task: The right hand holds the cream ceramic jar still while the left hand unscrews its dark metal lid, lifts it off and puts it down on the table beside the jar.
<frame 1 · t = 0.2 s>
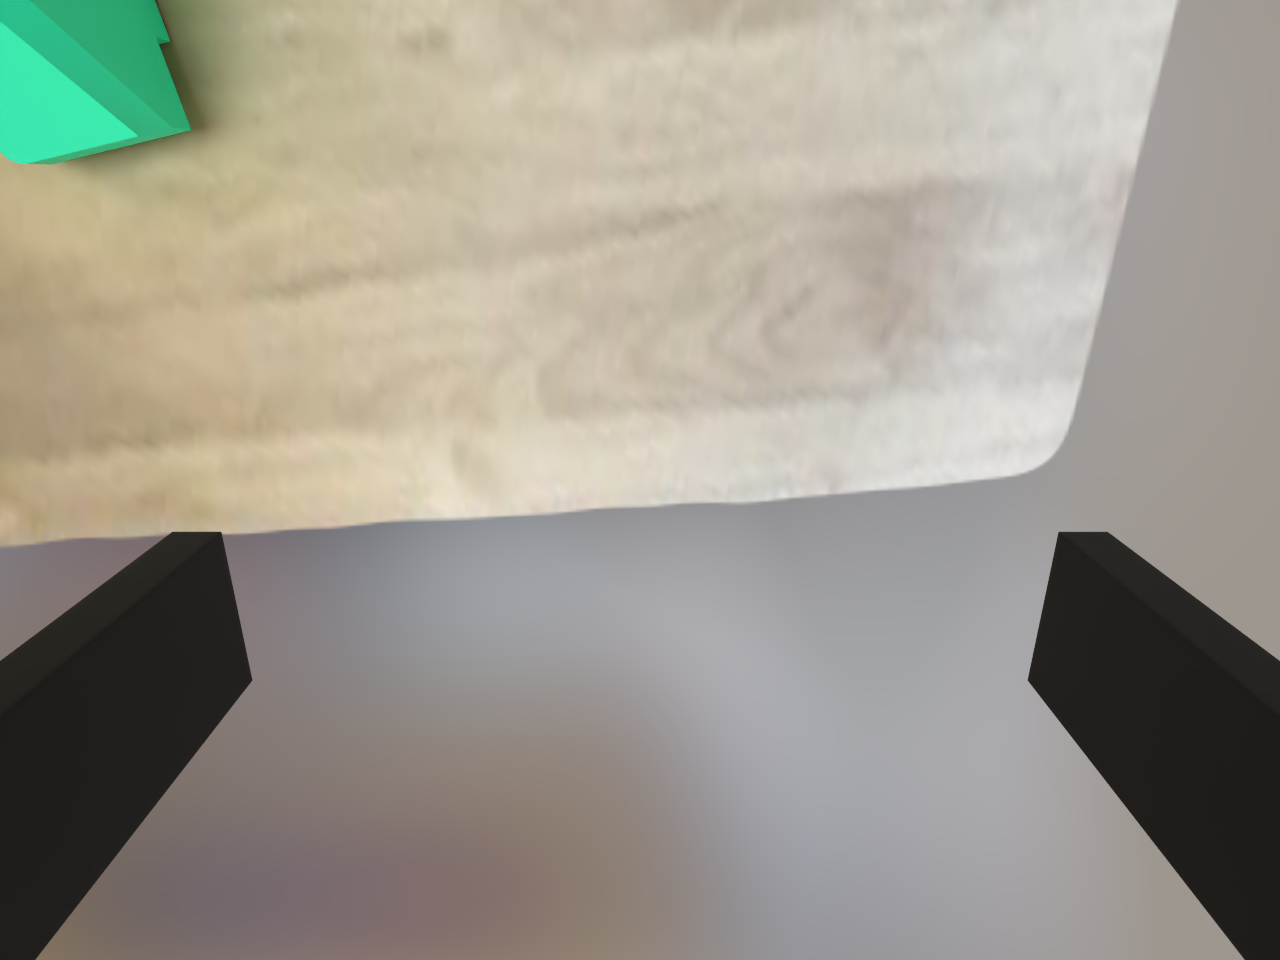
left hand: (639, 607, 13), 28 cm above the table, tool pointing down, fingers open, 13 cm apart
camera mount: (68, 3, 34), on the table
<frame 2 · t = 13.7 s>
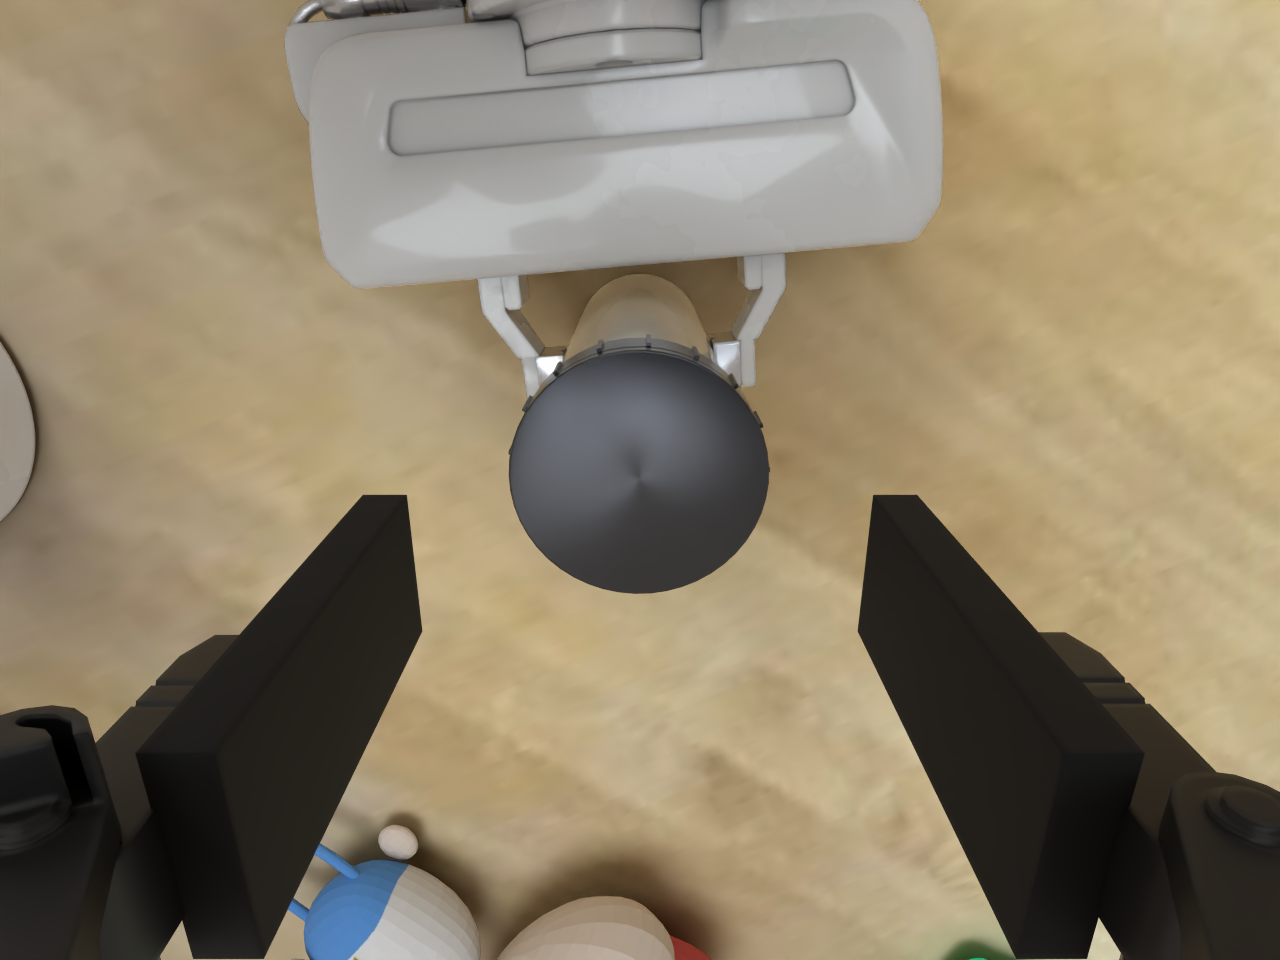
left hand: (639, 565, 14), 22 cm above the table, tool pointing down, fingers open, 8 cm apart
right hand: (642, 392, 29), fingers closed on jar, 5 cm apart
toy: (485, 902, 46), on the table
lid: (639, 474, 18), point 17 cm above the table, screwed on, not yet turned
jar: (639, 336, 35), on the table, touching right hand
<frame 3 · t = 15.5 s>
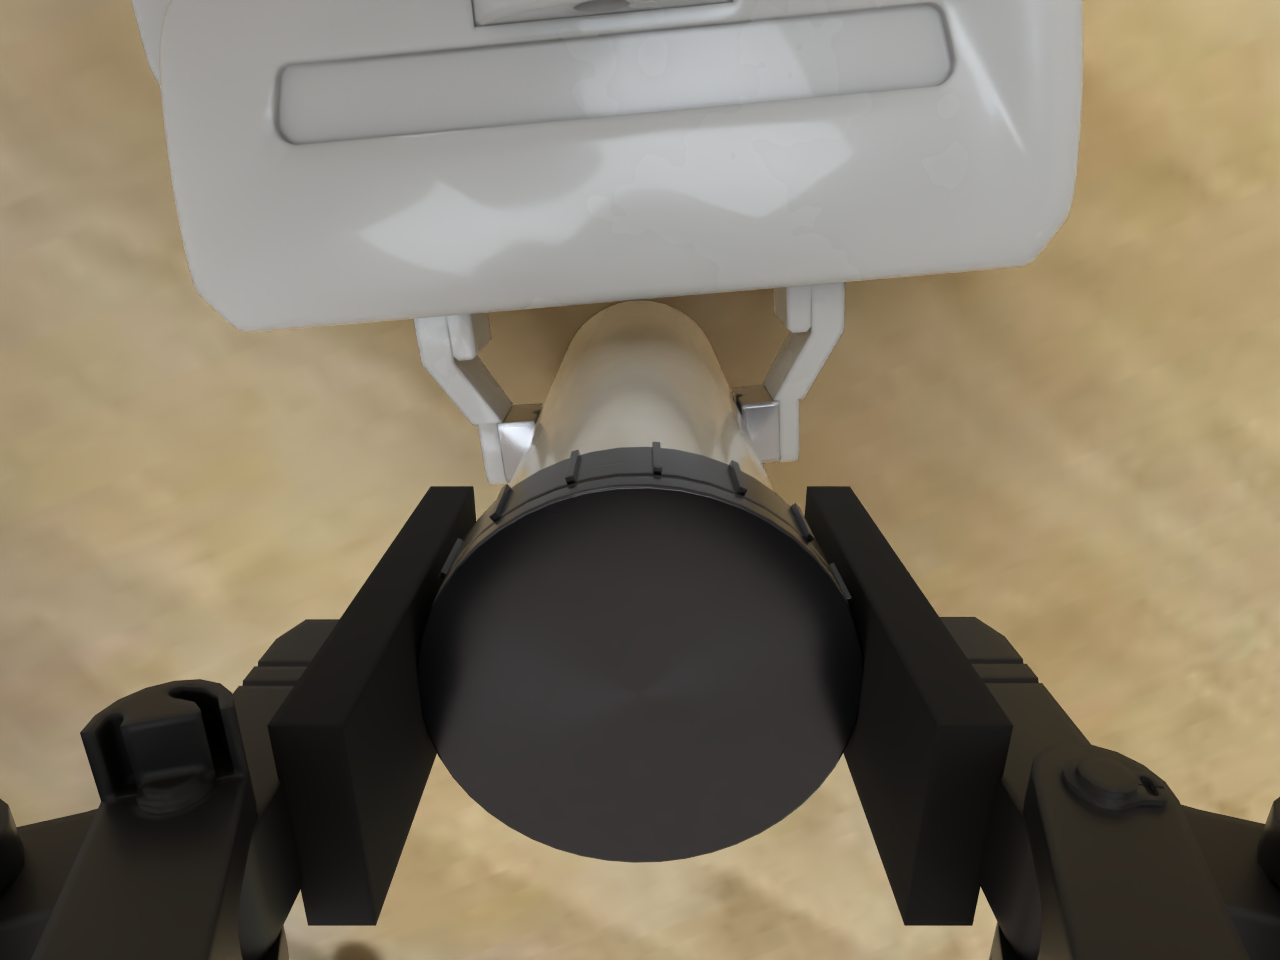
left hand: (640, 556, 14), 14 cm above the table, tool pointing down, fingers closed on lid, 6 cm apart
right hand: (644, 466, 21), fingers closed on jar, 5 cm apart
lid: (640, 678, 11), point 17 cm above the table, screwed on, not yet turned, touching left hand
jar: (640, 379, 27), on the table, touching right hand
when the left hand's fingers open (0 cm above the table, at t = 32.3 s): lid drops 3 cm, point 1 cm above the table.
when the right hand's fingers open (6 cm above the table, at t = 33.1 s): jar stays where it is, on the table.
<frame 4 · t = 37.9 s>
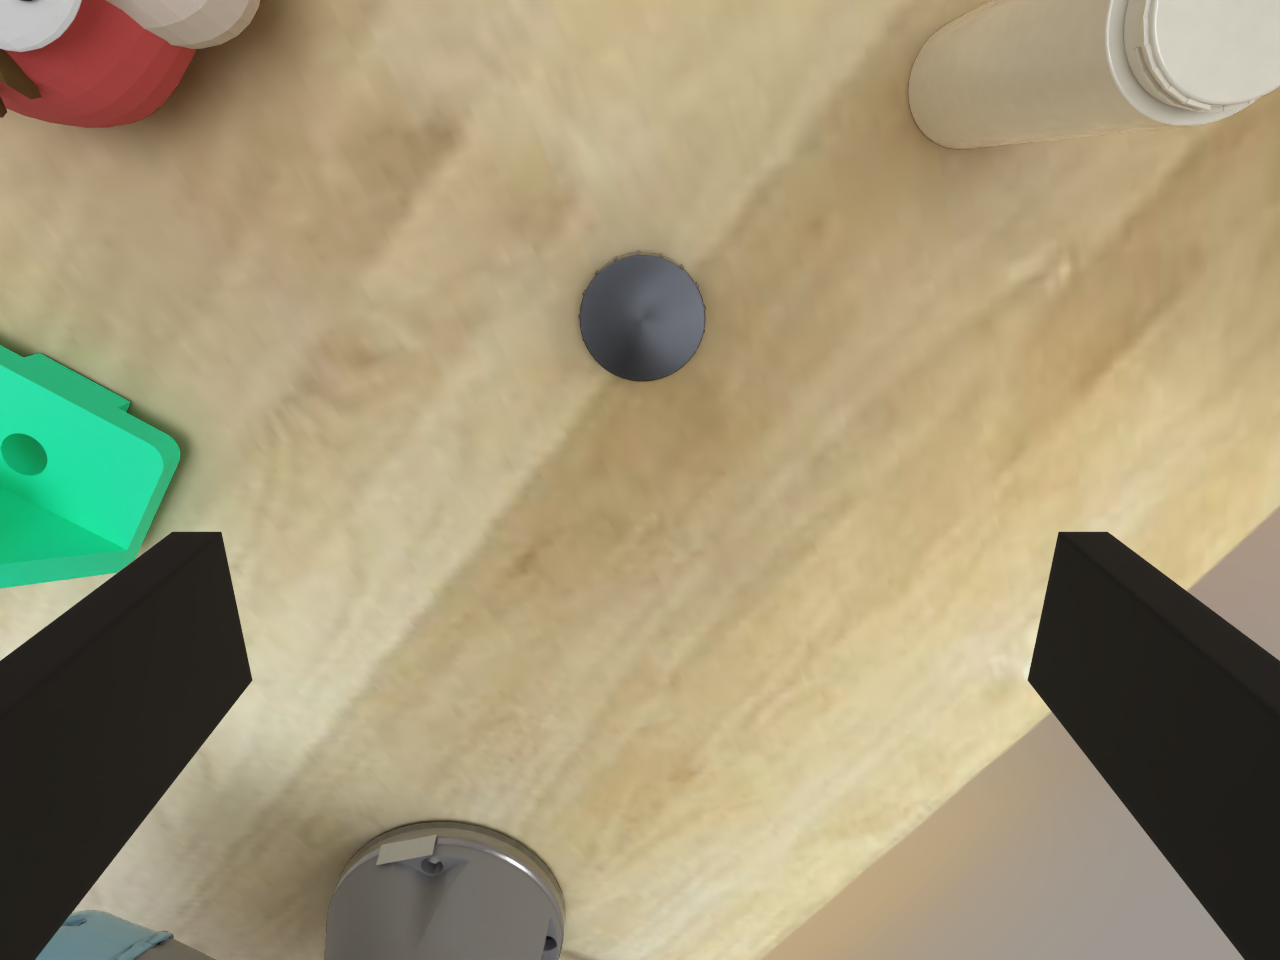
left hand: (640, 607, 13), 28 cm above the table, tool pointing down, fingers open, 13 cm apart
lid: (642, 318, 38), point 1 cm above the table, off its thread
jar: (968, 84, 35), on the table
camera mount: (63, 437, 41), on the table
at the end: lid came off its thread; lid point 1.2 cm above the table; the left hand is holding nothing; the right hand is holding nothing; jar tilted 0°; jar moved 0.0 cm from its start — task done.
